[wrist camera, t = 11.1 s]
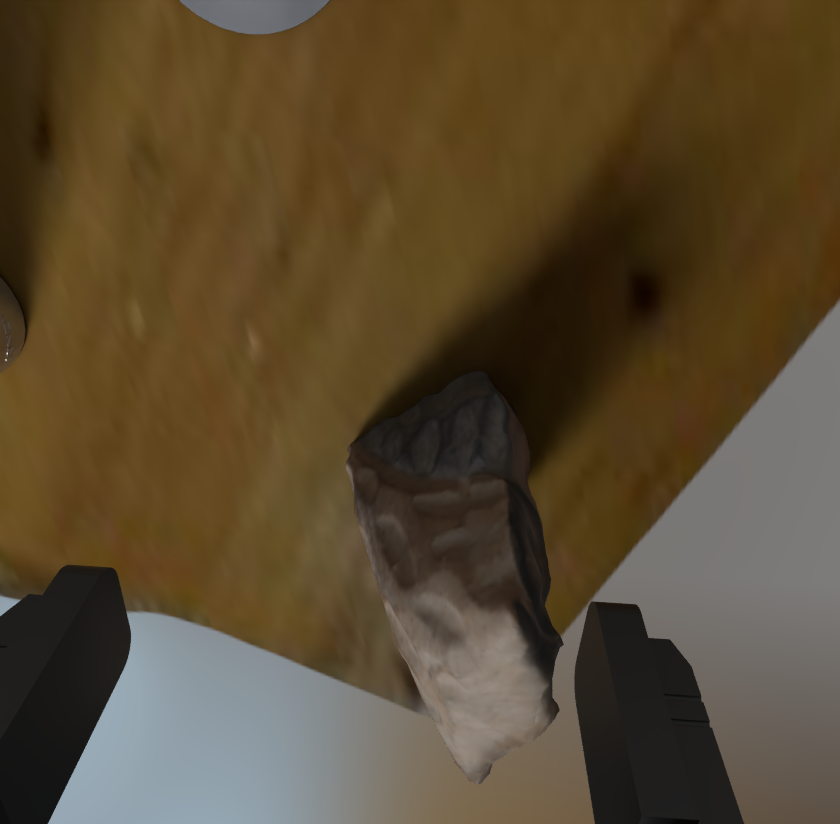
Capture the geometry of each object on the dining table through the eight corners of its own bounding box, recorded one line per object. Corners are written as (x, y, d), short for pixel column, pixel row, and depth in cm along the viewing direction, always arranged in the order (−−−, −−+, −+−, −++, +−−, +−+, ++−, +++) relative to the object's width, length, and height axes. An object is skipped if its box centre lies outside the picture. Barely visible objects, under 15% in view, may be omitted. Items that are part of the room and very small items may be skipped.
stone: (491, 348, 46) (509, 566, 29) (591, 479, 51) (659, 733, 34) (340, 443, 50) (278, 682, 33) (446, 556, 55) (440, 815, 38)
